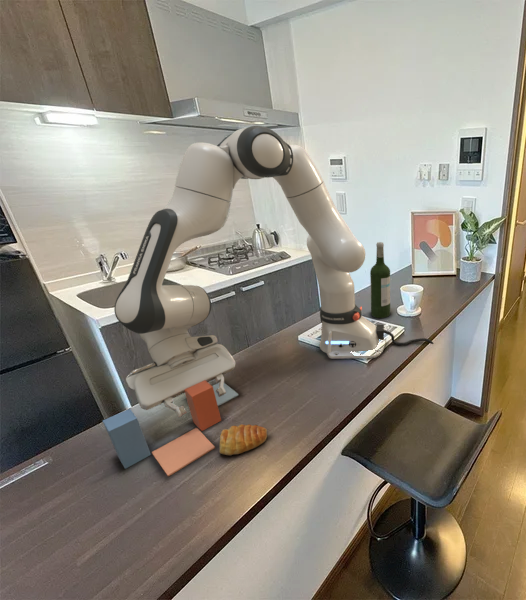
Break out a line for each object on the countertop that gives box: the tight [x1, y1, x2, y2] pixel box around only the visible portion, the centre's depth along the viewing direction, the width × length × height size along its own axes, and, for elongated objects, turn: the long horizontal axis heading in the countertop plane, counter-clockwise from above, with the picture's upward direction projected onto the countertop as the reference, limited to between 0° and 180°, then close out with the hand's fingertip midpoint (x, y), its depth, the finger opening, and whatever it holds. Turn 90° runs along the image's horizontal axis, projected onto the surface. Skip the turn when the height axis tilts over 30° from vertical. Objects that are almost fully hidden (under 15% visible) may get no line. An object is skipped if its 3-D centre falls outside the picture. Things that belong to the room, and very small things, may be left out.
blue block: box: [102, 408, 152, 470], centre depth 67 cm, size 4×4×10 cm
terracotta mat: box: [151, 427, 216, 478], centre depth 70 cm, size 9×9×1 cm
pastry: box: [219, 423, 268, 456], centre depth 72 cm, size 9×7×4 cm
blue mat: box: [212, 382, 239, 407], centre depth 86 cm, size 9×9×1 cm
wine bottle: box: [369, 241, 391, 319], centre depth 129 cm, size 8×8×30 cm
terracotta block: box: [184, 380, 222, 432], centre depth 76 cm, size 4×4×10 cm
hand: (203, 404), depth 76 cm, fingers open, 7 cm apart
